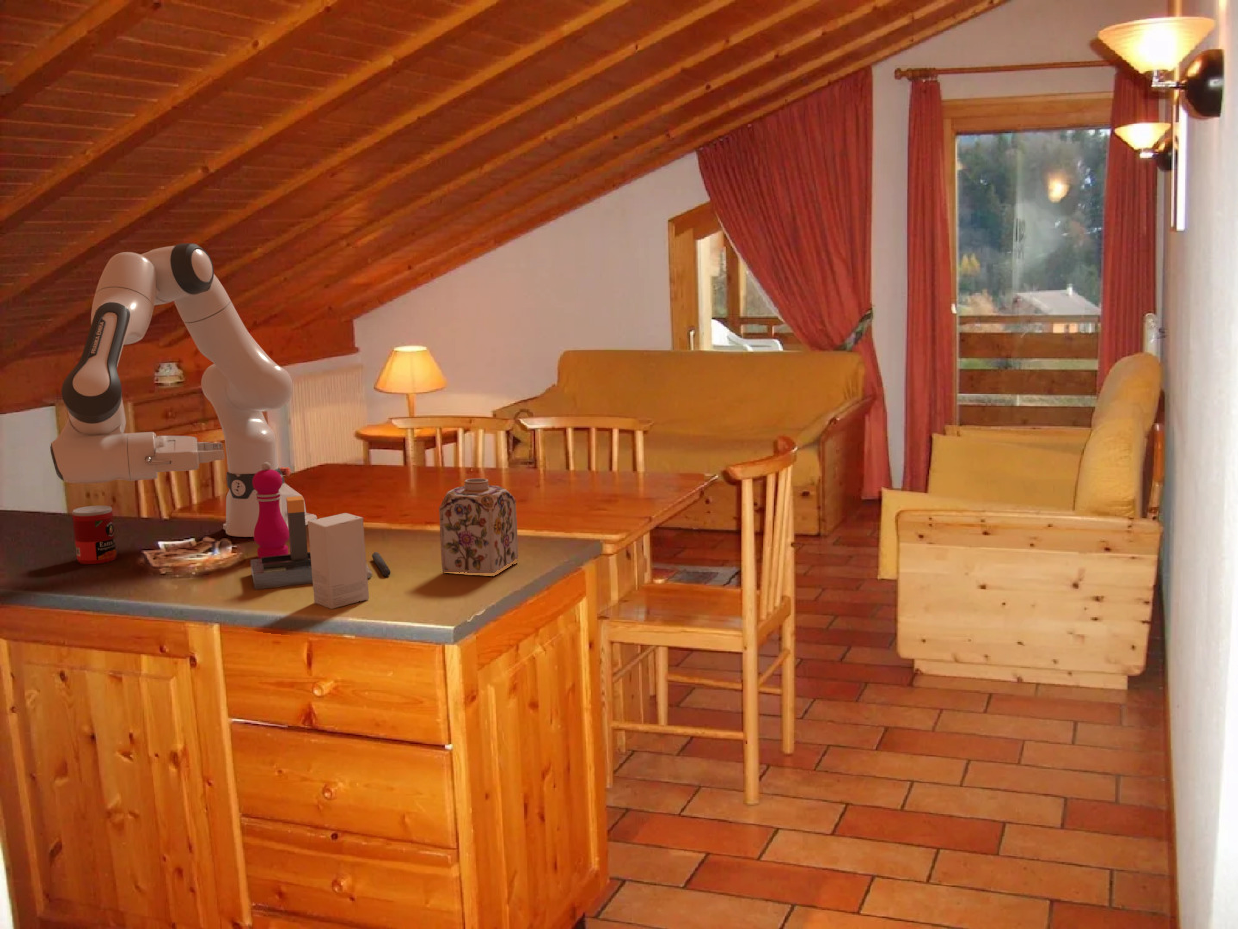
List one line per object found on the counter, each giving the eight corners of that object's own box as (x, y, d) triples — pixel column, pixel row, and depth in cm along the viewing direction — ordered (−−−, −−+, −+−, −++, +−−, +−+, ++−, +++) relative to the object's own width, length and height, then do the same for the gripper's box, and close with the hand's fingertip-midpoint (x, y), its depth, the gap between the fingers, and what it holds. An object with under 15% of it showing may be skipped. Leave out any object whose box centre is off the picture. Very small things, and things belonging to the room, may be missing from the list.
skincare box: (352, 593, 235) (346, 511, 232) (371, 600, 230) (366, 517, 227) (312, 603, 229) (305, 519, 226) (330, 610, 224) (324, 525, 222)
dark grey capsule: (354, 561, 259) (353, 553, 258) (379, 558, 260) (379, 551, 260) (364, 579, 244) (363, 571, 244) (391, 576, 246) (390, 568, 246)
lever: (292, 563, 245) (287, 501, 243) (290, 558, 249) (286, 497, 246) (308, 561, 246) (303, 499, 244) (306, 557, 250) (301, 495, 247)
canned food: (103, 565, 262) (98, 513, 260) (69, 564, 263) (63, 512, 261) (124, 556, 269) (119, 505, 267) (91, 555, 271) (85, 505, 269)
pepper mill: (297, 552, 268) (290, 459, 264) (278, 560, 261) (270, 465, 257) (268, 550, 270) (261, 458, 267) (248, 559, 263) (240, 464, 260)
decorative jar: (440, 574, 247) (435, 484, 244) (467, 559, 258) (463, 473, 254) (495, 578, 243) (491, 486, 240) (520, 563, 253) (517, 475, 250)
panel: (254, 589, 239) (253, 569, 239) (251, 574, 251) (250, 554, 250) (350, 578, 245) (349, 558, 244) (343, 564, 256) (342, 545, 256)
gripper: (143, 446, 225) (224, 441, 229) (146, 432, 244) (221, 427, 248) (145, 481, 226) (226, 476, 230) (148, 464, 245) (223, 459, 249)
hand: (223, 450), depth 239 cm, fingers open, 8 cm apart
